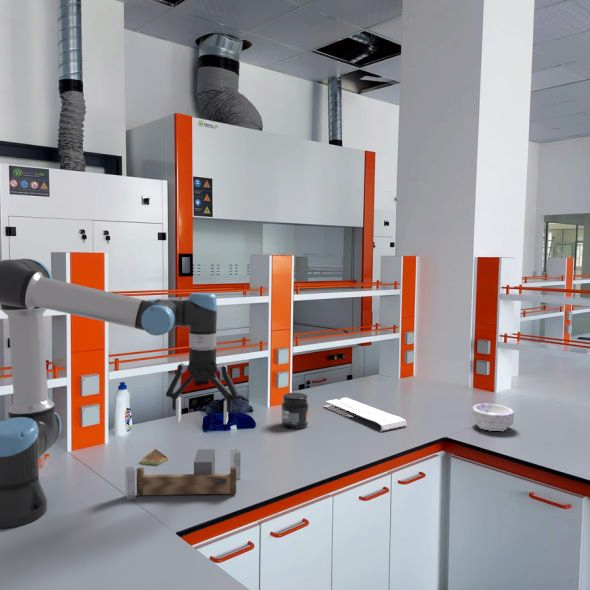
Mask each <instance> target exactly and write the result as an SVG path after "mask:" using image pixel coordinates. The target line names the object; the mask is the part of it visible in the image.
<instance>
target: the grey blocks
mask: <svg viewBox="0 0 590 590" xmlns="http://www.w3.org/2000/svg"><path fill="white" fill-rule="evenodd" d="M231 467H236V480H239V478H240V479H241V451H239V450H238V449H237V448H234V449H230V467H229V468H231ZM124 469H125V471H124V473H125V475H124V479H125V482H124V484H125V486H124V487H125V493H124V494H125V498H126V500H127V501H130V500H136V470H135V467H134V466H133V465H132V466H126V467H124Z"/></svg>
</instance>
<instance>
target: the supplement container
mask: <svg viewBox="0 0 590 590" xmlns="http://www.w3.org/2000/svg"><path fill="white" fill-rule="evenodd" d="M281 425H282V427H284V428H285V427H286V428H285V429H288V428H290V429H289V430H301V428H302V429H305V428H306V427H308V425H309V402H308V395H307V394H306V393H302V392H288V393H284V394H283V395H282V402H281Z"/></svg>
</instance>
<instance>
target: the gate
mask: <svg viewBox="0 0 590 590" xmlns="http://www.w3.org/2000/svg"><path fill="white" fill-rule="evenodd" d="M229 468H230V467H229ZM229 470H230V471H229V472H230V473H215V474H194V473H193V474H192V473H191V474H190V473H189V474H187V473H184V474H183V473H181V474H180V473H177V474H176V473H175V474H173V473H171V474H145V468H144V467H137V468H136V495H137V496H147V495H149V496H150V495H151V496H152V495H153V496H155V495H166V496H167V495H215V494H216V495H221V494H222V495H223V494H225V495H226V494H227V495H228V494H230V495H231V494H237V479H236V467H231V468H230V469H229Z"/></svg>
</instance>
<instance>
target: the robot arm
mask: <svg viewBox="0 0 590 590" xmlns="http://www.w3.org/2000/svg"><path fill="white" fill-rule="evenodd" d="M217 307H218V306H217V296H216V295H215V294H214V293H211V292H191V293H190V294H189V297H188V299H161V298H157V299H156V298H155V299H147V300H145V299H141V298H135V297H133V296H127V295H123V294H119V293H115V292H110V291H106V290H101V289H97V288H93V287H88V286H84V285H80V284H75V283H71V282H67V281H63V280H58V279H53V275H52V273H51V271H50V270H49V268H48V267H47V266H46V265H45V264H43V263H42V262H40V261H37V260H35V259H30V258H20V259H19V258H15V259H2V260H0V311H1V312H3V313H4V314H5V315H6V316H7V319H8V320H7V321H8V334H9V336H8V337H9V348H10V362H11V363H10V364H11V376H12V392H13V403H12V404H11V405H10V407H9V408H8V411H7V413H8V418H6V419H4V420H0V529H8V528H15V527H20V526H23V525H26V524H29V523H31V522H34V521H36V520H38V519H39V518H41V517H42V516H44V515H45V513H46V512H47V510H48V499H47V497H46V495H45V492H44V489H43V487H42V484H41V483H40V477H39V476H40V473H39V471H40V470H39V469H40V468H39V467H40V466H39V460H40V458H41V456H42V455H44V454H45V453H46V452H47V451H48V450H49V449H50V448H52V446H53V445H54V444H55V443H56V441H57V440H58V438H59V437H60V434H61V431H62V421H61V417H60V415H59V414H58V412H56V408H55V402H54V401H53V400H51V399H50V398H49V391H48V390H49V389H48V388H49V386H48V373H47V371H48V370H47V359H46V356H47V355H46V343H45V329H44V328H45V327H44V313H45V312H46V311H47V310H52V311H55V312H59V313H64V314H69V315H73V316H78V317H82V318H87V319H91V320H97V321H102V322H107V323H110V324H115V325H119V326H124V327H128V328H133V329H138V330H141V331H145V332H146V333H147V334H149V335H151V336H156V337H157V336H162V335H165V334H167V333H169V332H170V331H171V330H172V329H173V328H174V327H179V328H180V327H181V328H186V327H188V329H189V330H188V332H189V333H188V343H189V344H188V346H189V347H190V348H189V350H188V364H184V363H183V362H182V363H179V364H178V365H177V368H176V369H177V370H176V373H175V375H174V378H173V379H172V381H171V383H170V385H169V386H168V389H167V391H166V393H165V397H167V398H171V400H172V411H175V423H179V422H180V421H181V420H182V397H181V396H180V395H181V394H182V393H183V391H184V390H185V389H186V388H187V386H189V384H190V383H191V382H192V381H193V380H195V381H196V382H201V381H203V382H208V381H210V382H211V383H212V384H213V385H214V386H215V388H216V389H217V390H218V391H219V392H220V394H221V395H222V397H223V398H224V400H223V425H227V423H228V421H229V413H230V412H231V411H232V409H233V408H232V407H233V400H237V398H238V397H239V393H238V391H237V388H236V386H235V383H234V381H233V380H232V378H231V376H230V374H229V370H228V368H229V367H228V365H227V364H224V365H217V349H216V347H217V322H218V321H217V320H218V319H217V317H218V314H217V313H218V308H217ZM186 370H187V371H188V373H189V376H188V377H187V378H186V380H185V381H184V382H183V384H181V385H180V386H179V387H178V389H177V390H176V391H175V392H174V390H175V388H176V386H177V385H178V383H179V382H180V379H181V378H182V375H183V373H185V372H186ZM217 372H219V373H220V375H222V378H223V379H224V382H225V384H226V386H227V387H225V385H224V384H223V383H222V382H221V381H220V379H219V378H218V376H217V375H216V373H217ZM227 388H228V389H227ZM228 390H229V391H228Z"/></svg>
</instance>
